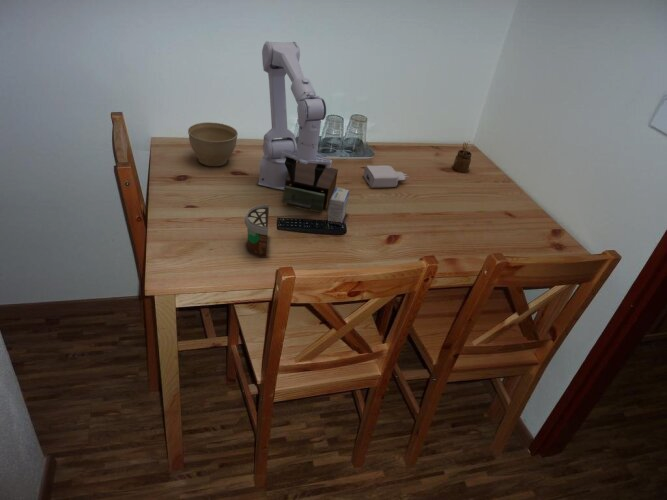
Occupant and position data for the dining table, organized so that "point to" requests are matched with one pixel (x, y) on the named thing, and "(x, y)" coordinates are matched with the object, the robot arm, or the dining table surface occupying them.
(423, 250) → the dining table surface
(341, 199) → the medicine box
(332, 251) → the dining table surface
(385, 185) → the charger
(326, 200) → the cabinet
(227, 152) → the planter bowl
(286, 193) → the drawer
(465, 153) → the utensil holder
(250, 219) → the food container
